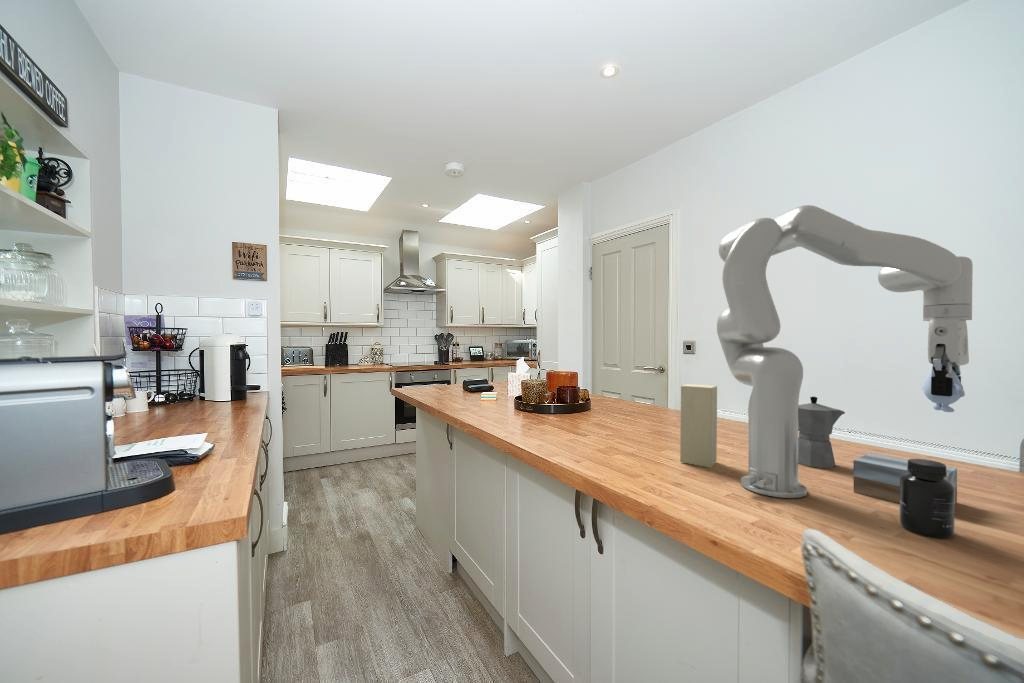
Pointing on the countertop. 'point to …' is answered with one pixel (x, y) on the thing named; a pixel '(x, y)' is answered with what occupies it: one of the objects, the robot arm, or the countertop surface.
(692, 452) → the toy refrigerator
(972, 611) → the countertop surface
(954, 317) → the robot arm
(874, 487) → the silver block
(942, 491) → the supplement bottle
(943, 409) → the toy figure
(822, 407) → the coffeepot
